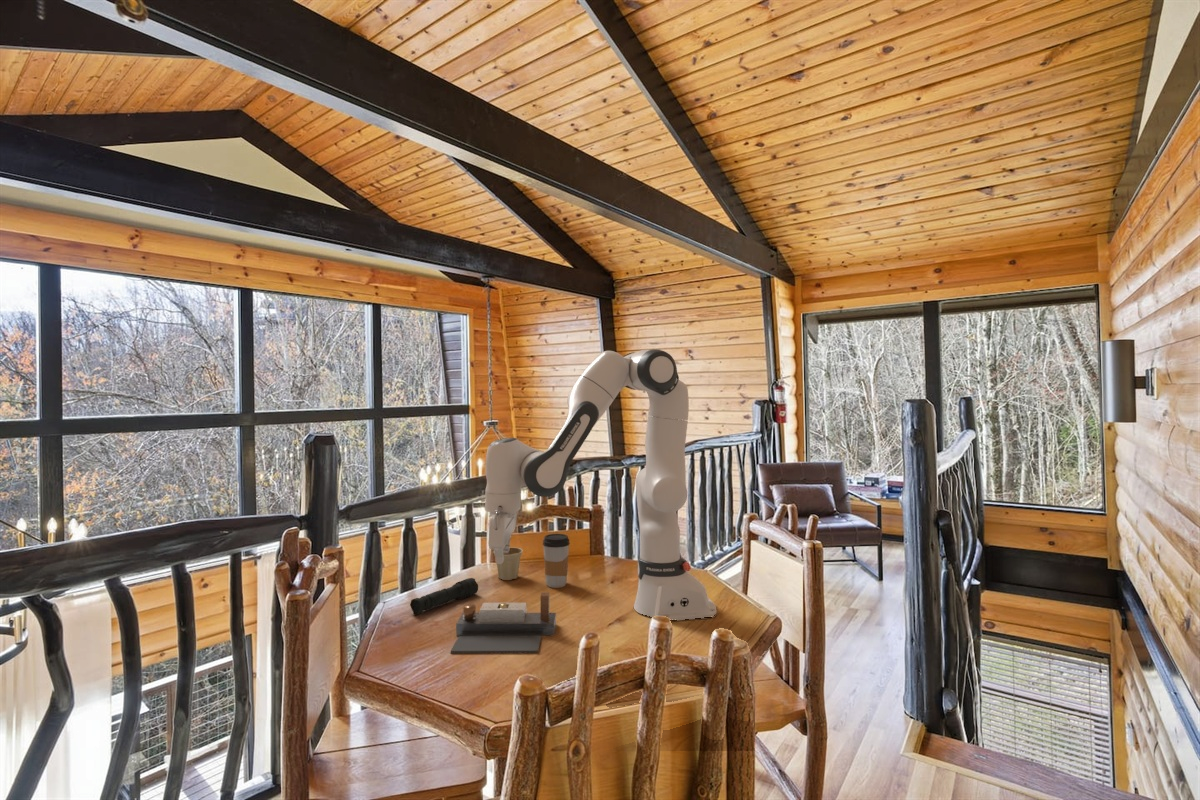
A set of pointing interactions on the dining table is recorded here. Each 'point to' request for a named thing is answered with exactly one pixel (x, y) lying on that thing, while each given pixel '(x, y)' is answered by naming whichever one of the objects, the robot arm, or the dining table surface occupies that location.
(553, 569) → the coffee cup
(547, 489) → the robot arm
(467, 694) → the dining table surface
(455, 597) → the flashlight
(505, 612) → the whitish rectangular block
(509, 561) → the flower pot
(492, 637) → the rubber mat
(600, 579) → the dining table surface
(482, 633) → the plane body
